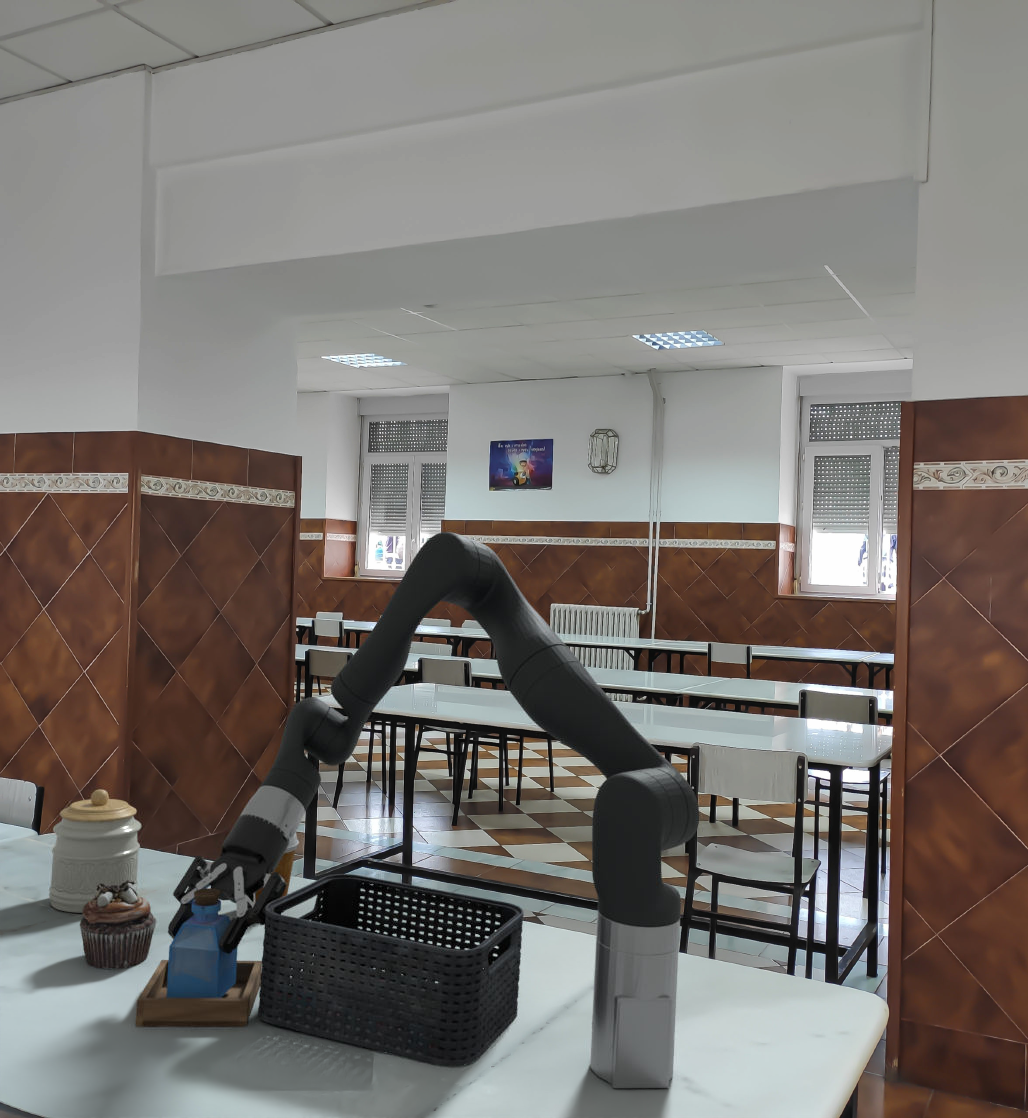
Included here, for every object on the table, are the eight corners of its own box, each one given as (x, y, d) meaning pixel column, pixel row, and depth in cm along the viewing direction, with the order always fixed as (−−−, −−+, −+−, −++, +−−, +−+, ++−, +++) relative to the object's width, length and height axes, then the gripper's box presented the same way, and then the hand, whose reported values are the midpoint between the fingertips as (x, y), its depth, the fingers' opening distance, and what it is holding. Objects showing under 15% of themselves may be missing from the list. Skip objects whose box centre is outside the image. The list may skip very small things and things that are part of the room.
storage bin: (526, 1009, 128) (531, 903, 128) (466, 1076, 110) (473, 951, 110) (329, 969, 138) (334, 870, 138) (245, 1024, 120) (251, 910, 120)
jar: (54, 891, 164) (61, 782, 165) (139, 887, 168) (145, 781, 169) (42, 916, 152) (50, 798, 153) (134, 912, 156) (141, 797, 156)
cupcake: (91, 977, 131) (96, 899, 131) (69, 954, 138) (74, 880, 138) (164, 962, 137) (169, 888, 137) (139, 941, 144) (144, 870, 145)
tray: (246, 1026, 119) (247, 1001, 119) (135, 1026, 117) (136, 1000, 117) (260, 984, 131) (262, 961, 131) (160, 983, 130) (161, 960, 130)
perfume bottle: (235, 983, 127) (240, 887, 127) (215, 1003, 121) (221, 902, 121) (188, 978, 128) (193, 883, 128) (166, 998, 122) (172, 898, 122)
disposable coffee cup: (228, 903, 163) (233, 828, 163) (287, 898, 167) (292, 825, 167) (239, 922, 154) (243, 843, 154) (301, 917, 158) (305, 839, 158)
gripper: (210, 805, 135) (139, 917, 124) (297, 820, 128) (230, 939, 118) (235, 837, 139) (168, 947, 129) (320, 853, 133) (257, 971, 122)
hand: (198, 943), depth 123 cm, fingers closed on perfume bottle, 7 cm apart
